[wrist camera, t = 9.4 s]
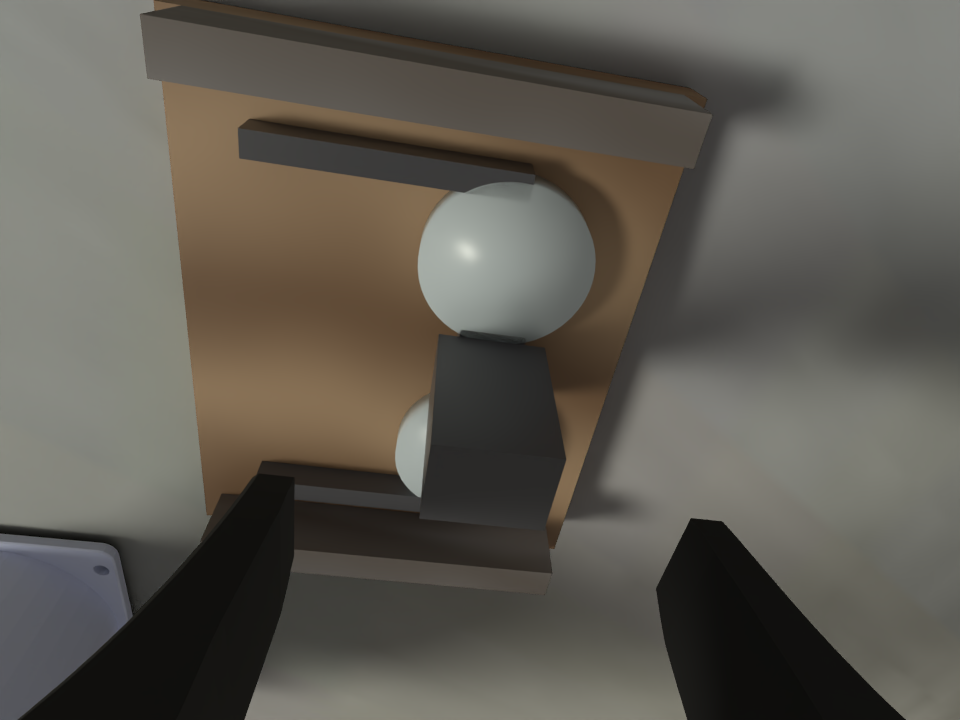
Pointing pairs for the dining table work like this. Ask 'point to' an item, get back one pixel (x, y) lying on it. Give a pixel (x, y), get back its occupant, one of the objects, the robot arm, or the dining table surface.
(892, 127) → the dining table surface
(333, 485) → the spectacles
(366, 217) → the stand
